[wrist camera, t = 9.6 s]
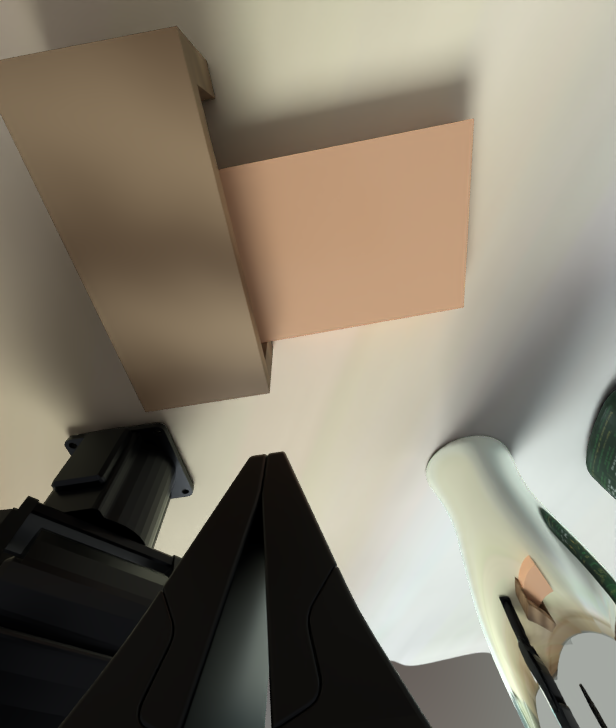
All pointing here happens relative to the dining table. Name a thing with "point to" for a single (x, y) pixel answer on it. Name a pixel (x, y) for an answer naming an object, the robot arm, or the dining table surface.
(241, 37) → the dining table surface
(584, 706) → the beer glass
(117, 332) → the brown rectangular block
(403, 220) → the tile
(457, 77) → the dining table surface
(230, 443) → the dining table surface
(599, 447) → the coffee jar
